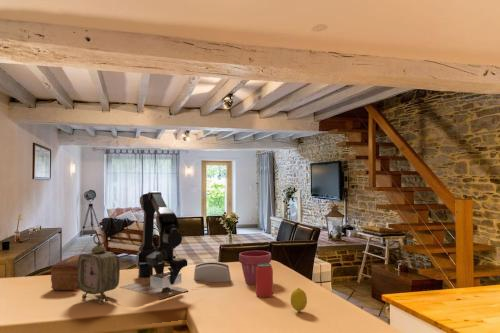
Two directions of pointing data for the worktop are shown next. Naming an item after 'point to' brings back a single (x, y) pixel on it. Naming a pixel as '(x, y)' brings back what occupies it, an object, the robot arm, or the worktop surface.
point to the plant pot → (253, 263)
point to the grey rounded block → (212, 272)
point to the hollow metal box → (163, 280)
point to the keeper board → (154, 289)
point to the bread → (65, 274)
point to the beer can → (264, 280)
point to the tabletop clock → (98, 271)
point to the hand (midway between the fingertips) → (166, 282)
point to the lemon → (298, 299)
